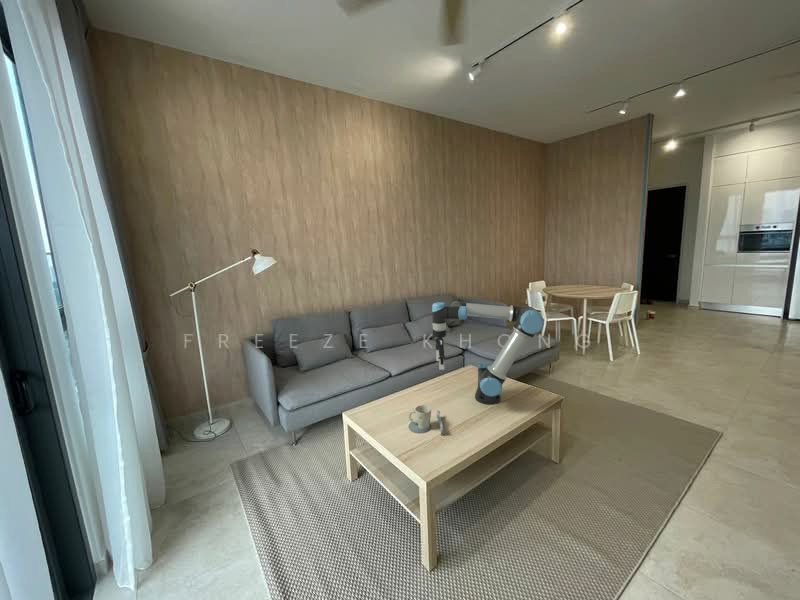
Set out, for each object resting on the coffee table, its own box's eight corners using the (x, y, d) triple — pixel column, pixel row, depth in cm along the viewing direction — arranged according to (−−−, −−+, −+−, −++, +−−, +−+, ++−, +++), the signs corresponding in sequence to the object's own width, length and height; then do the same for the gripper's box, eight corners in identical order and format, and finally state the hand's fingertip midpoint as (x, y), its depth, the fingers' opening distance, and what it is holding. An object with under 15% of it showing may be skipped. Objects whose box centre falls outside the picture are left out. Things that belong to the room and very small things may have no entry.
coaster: (429, 420, 175) (429, 419, 175) (432, 432, 163) (432, 432, 163) (408, 421, 175) (408, 420, 175) (408, 433, 163) (408, 433, 163)
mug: (430, 431, 163) (430, 413, 162) (407, 429, 166) (406, 411, 164) (432, 422, 171) (432, 405, 170) (409, 420, 174) (409, 404, 172)
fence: (439, 417, 177) (439, 410, 177) (444, 435, 160) (443, 428, 159) (436, 417, 177) (436, 410, 177) (440, 435, 160) (440, 428, 159)
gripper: (430, 324, 192) (431, 357, 196) (435, 335, 168) (436, 373, 171) (442, 323, 192) (443, 357, 196) (449, 335, 168) (450, 373, 171)
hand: (440, 364), depth 184 cm, fingers open, 13 cm apart
